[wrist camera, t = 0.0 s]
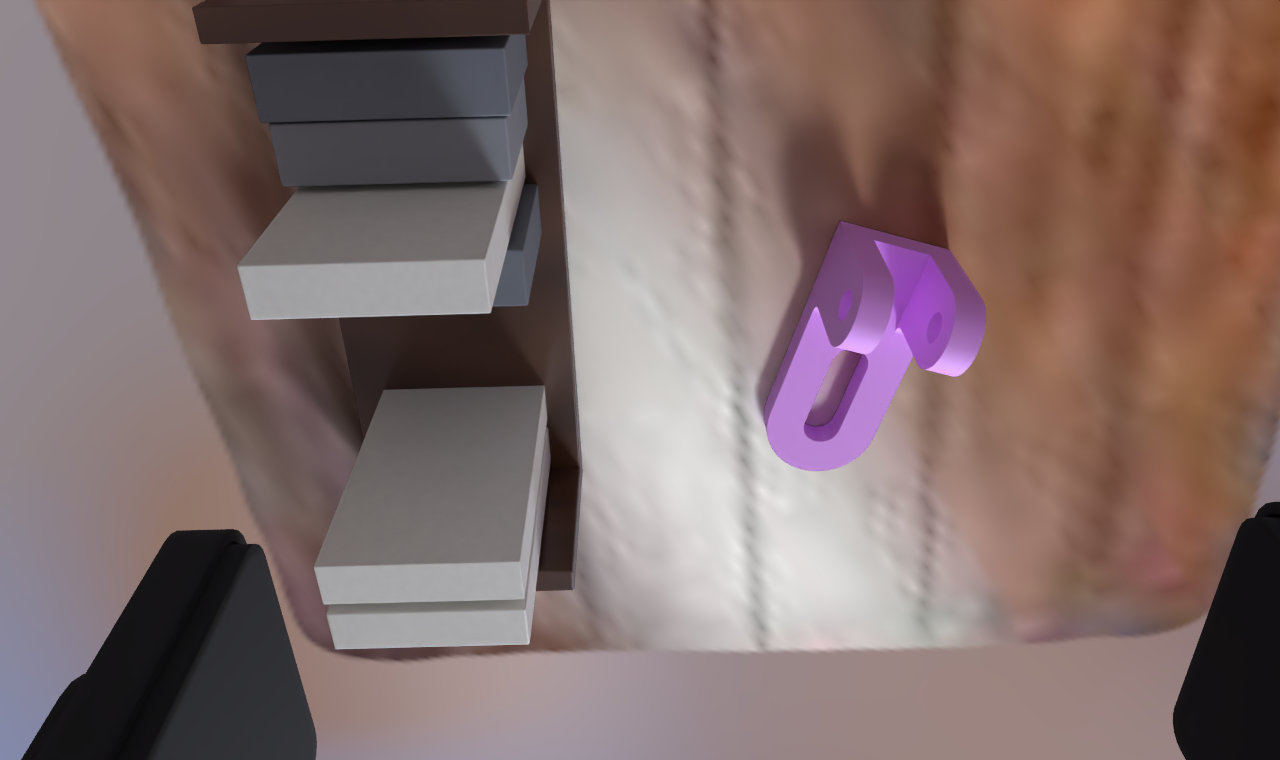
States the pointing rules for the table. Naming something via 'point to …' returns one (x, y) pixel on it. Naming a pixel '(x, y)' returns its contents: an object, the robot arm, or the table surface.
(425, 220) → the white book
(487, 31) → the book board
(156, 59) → the table surface
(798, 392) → the bracket
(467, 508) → the white books
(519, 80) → the grey books
